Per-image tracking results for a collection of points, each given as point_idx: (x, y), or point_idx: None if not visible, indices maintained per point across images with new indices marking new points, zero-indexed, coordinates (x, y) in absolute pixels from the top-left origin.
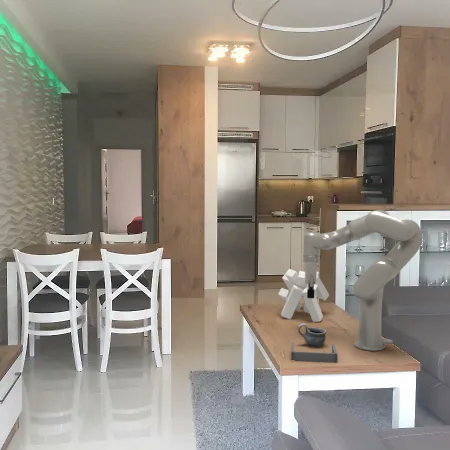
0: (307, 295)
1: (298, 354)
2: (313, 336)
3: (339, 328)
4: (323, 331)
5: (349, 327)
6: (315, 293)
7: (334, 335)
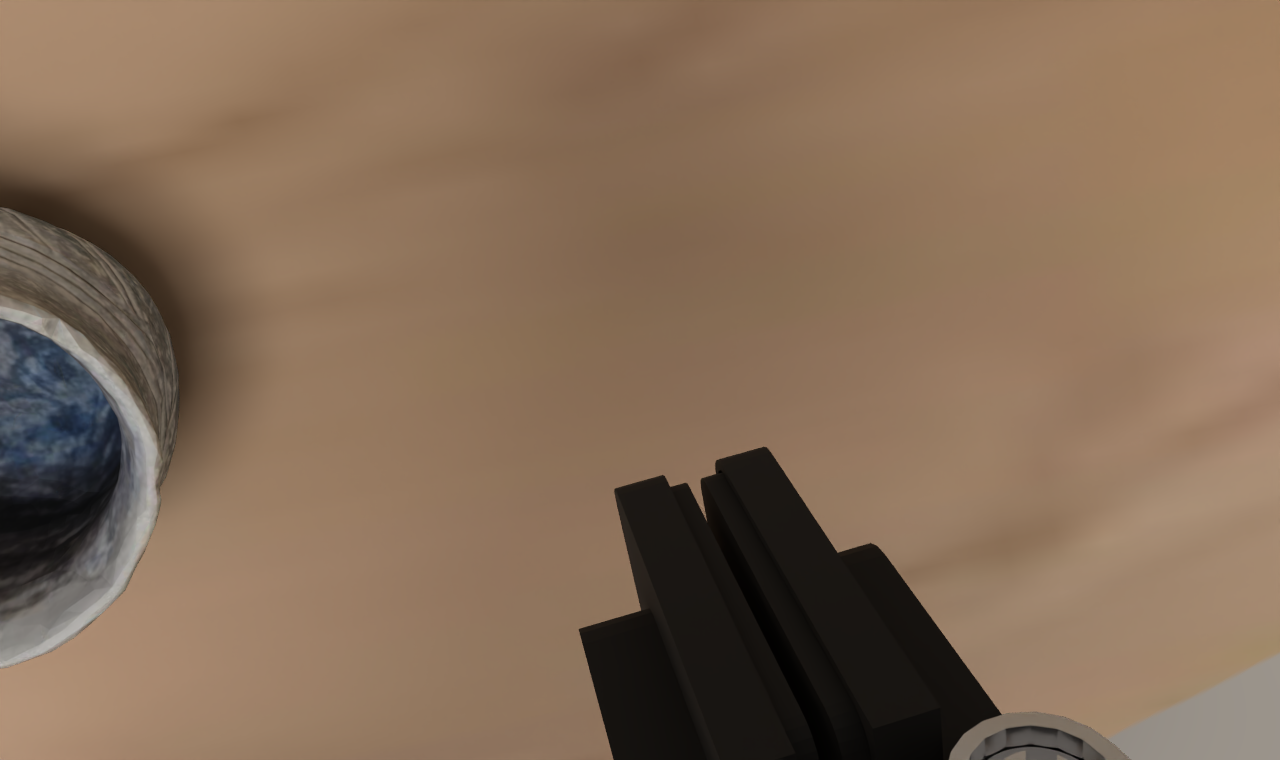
0: (635, 553)
1: None
2: None
3: (1082, 469)
4: (51, 592)
5: (1145, 567)
6: None
7: None
